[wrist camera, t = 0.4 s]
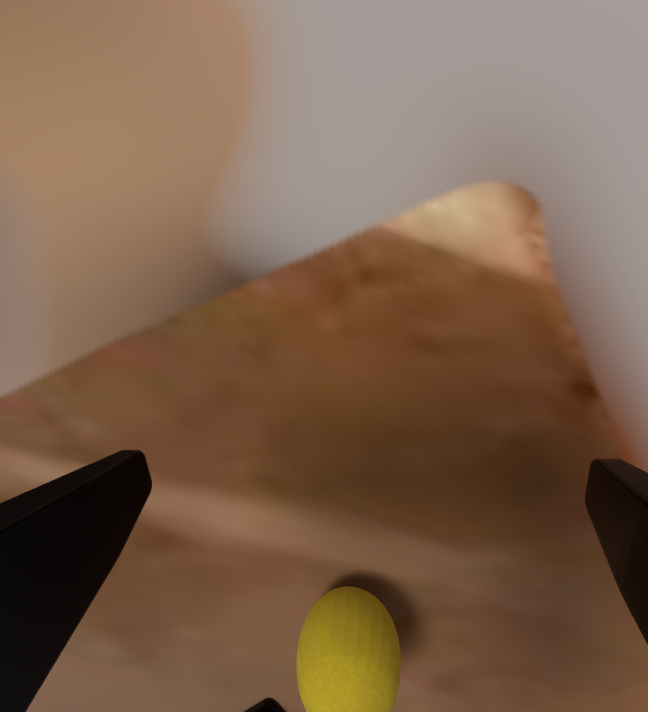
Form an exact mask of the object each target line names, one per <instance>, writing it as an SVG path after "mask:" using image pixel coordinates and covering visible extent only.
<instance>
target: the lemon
mask: <svg viewBox="0 0 648 712" xmlns="http://www.w3.org/2000/svg"><path fill="white" fill-rule="evenodd" d="M400 665H401V652H400V645H399V640H398V636H397V632H396V628H395V625H394V622H393V620H392V618H391V616H390V615H389V613H388V611H387V609H386V608H385V606H384V605H383V604H382V603H381V602H380V601H379V600H378V599H377V598H376V597H375V596H374V595H372V594H371V593H369V592H367V591H366V590H363V589H360V588H357V587H350V586H347V587H339V588H336V589H333V590H331V591H329V592H327V593H326V594H324V595H323V596H322V597H320V598H319V600H318V601H317V602H316V603H315V604H314V605H313V606H312V608H311V609H310V611H309V613H308V615H307V617H306V619H305V622H304V624H303V626H302V629H301V633H300V637H299V643H298V651H297V679H298V686H299V692H300V696H301V700H302V702H303V705H304V707H305V709H306V711H307V712H391V710H392V707H393V705H394V702H395V699H396V696H397V692H398V687H399V680H400Z"/></svg>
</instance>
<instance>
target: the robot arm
mask: <svg viewBox="0 0 648 712" xmlns="http://www.w3.org/2000/svg"><path fill="white" fill-rule="evenodd" d="M151 488H152V480H151V476H150V473H149V469H148V465H147V462H146V458H145V455H144V454H143V452H142V451H140V450H121V451H119V452H116V453H114V454H112V455H110V456H107V457H105V458H103V459H100V460H98V461H96V462H94V463H91V464H89V465H87V466H84V467H82V468H80V469H78V470H75V471H73V472H71V473H68V474H66V475H64V476H61V477H59V478H57V479H55V480H52V481H50V482H48V483H45V484H43V485H41V486H39V487H36V488H34V489H32V490H29V491H27V492H25V493H22V494H20V495H18V496H16V497H13V498H11V499H9V500H6V501H4V502H2V503H0V712H26V710H27V709H28V707H29V705H30V704H31V702H32V700H33V699H34V697H35V695H36V694H37V692H38V690H39V689H40V687H41V686H42V684H43V682H44V681H45V679H46V677H47V676H48V674H49V672H50V671H51V669H52V667H53V666H54V664H55V662H56V661H57V659H58V657H59V656H60V654H61V652H62V651H63V649H64V647H65V646H66V644H67V642H68V641H69V639H70V637H71V636H72V634H73V632H74V631H75V629H76V628H77V626H78V624H79V623H80V621H81V619H82V618H83V616H84V614H85V613H86V611H87V609H88V608H89V606H90V604H91V603H92V601H93V599H94V598H95V596H96V594H97V593H98V591H99V589H100V588H101V586H102V584H103V583H104V581H105V579H106V578H107V576H108V574H109V573H110V571H111V570H112V568H113V566H114V564H115V563H116V561H117V559H118V557H119V555H120V554H121V552H122V550H123V548H124V546H125V544H126V542H127V540H128V538H129V536H130V533H131V531H132V529H133V527H134V525H135V523H136V521H137V519H138V517H139V515H140V513H141V511H142V509H143V507H144V505H145V503H146V501H147V499H148V496H149V494H150V492H151ZM585 503H586V508H587V511H588V513H589V516H590V518H591V521H592V523H593V526H594V528H595V531H596V533H597V536H598V538H599V541H600V543H601V546H602V548H603V551H604V553H605V556H606V558H607V561H608V563H609V566H610V568H611V571H612V573H613V576H614V578H615V581H616V583H617V585H618V588H619V590H620V592H621V594H622V596H623V598H624V600H625V602H626V604H627V606H628V608H629V610H630V612H631V614H632V616H633V618H634V620H635V622H636V624H637V625H638V627H639V629H640V631H641V633H642V635H643V637H644V639H645V641H646V643H647V644H648V473H647V472H645V471H643V470H641V469H639V468H637V467H635V466H633V465H631V464H629V463H627V462H625V461H623V460H620V459H595V460H593V461H592V463H591V465H590V470H589V475H588V481H587V487H586V493H585ZM246 712H282V711H281V710H280V709H279V708H278V707H277V705H276V704H275V703H274V702H272V701H270V700H264V701H263V702H261V703H259V704H258V705H256V706H254V707H253V708H251V709H249V710H248V711H246Z"/></svg>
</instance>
